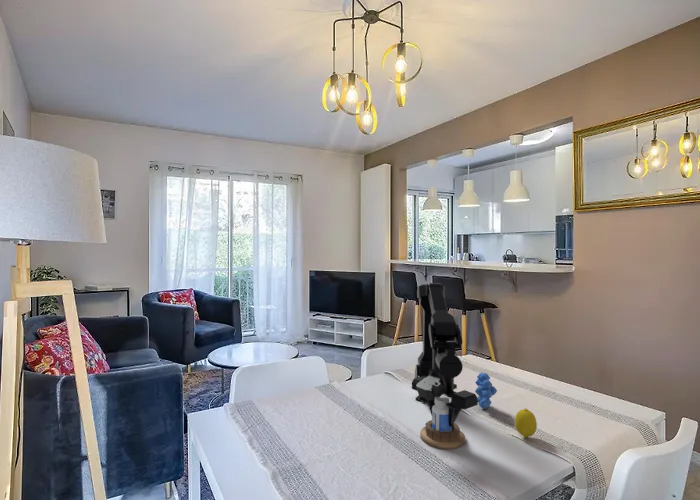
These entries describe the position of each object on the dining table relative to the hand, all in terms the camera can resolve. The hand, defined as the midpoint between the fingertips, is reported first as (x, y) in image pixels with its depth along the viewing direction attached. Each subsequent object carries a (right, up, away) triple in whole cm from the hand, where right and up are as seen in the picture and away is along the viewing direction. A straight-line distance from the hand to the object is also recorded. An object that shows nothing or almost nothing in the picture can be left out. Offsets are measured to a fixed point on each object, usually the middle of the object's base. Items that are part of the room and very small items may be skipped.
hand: (442, 422), depth 110 cm
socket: (0, -4, 0) cm, 4 cm away
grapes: (+19, -4, +20) cm, 28 cm away
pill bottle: (0, -3, 0) cm, 3 cm away
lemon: (+23, -5, +1) cm, 23 cm away
